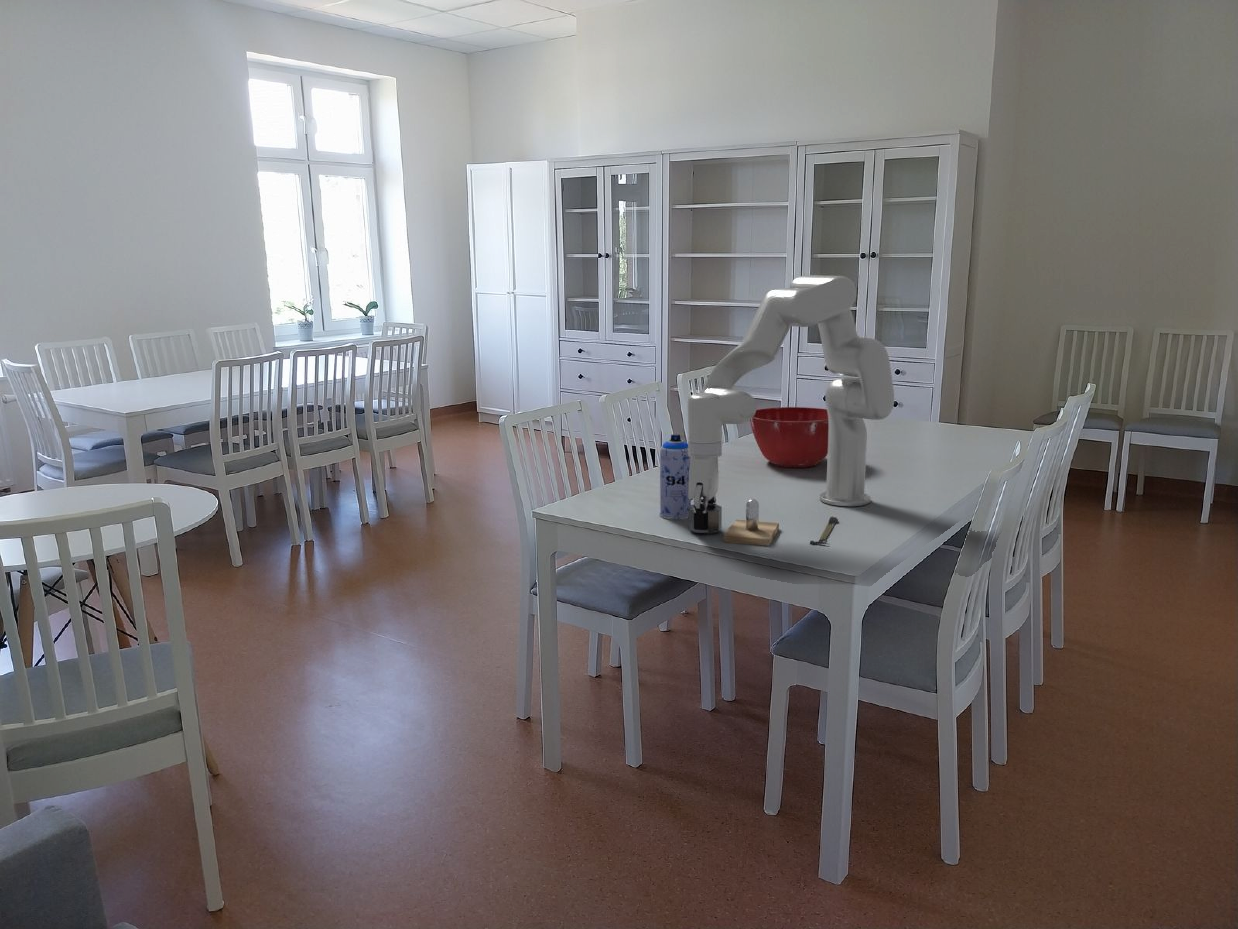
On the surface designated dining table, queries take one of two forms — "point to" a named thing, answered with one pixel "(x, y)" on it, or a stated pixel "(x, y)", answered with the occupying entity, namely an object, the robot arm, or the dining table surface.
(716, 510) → the collar
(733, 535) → the oak base
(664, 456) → the aerosol can
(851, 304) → the robot arm
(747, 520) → the steel post
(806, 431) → the mixing bowl
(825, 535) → the tactical tomahawk
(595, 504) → the dining table surface
